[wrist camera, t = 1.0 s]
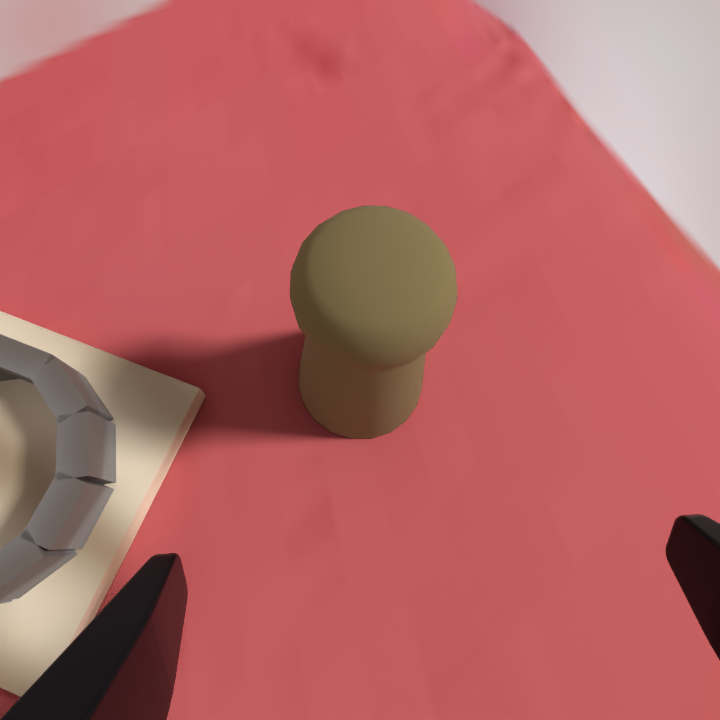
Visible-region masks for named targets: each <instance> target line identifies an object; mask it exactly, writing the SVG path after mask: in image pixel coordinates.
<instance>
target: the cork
mask: <svg viewBox="0 0 720 720" xmlns="http://www.w3.org/2000/svg"><path fill="white" fill-rule="evenodd" d="M290 299H291V303H292V307H293V310H294V313H295V316H296V319H297V322H298V326H299V328H300V329H301V330H302V332H303V333H304V334H305V340H304V345H303V351H302V356H301V361H300V367H299V390H300V393H301V396H302V400H303V403H304V405H305V407H306V408H307V410H308V411H309V412H310V414H311V415H312V417H313V418H314V419H315V421H317V422H318V423H319V424H321V425H322V426H323V427H325V428H326V429H328V430H329V431H330V432H332V433H335V434H338V435H341V436H344V437H347V438H350V439H372V438H375V437H378V436H381V435H384V434H387V433H390V432H392V431H393V430H394V429H396V428H397V427H398V426H400V425H401V424H402V423H404V422H405V421H406V420H407V419H408V417H409V416H410V414H411V413H412V412H413V410H414V409H415V407H416V406H417V403H418V400H419V396H420V393H421V389H422V383H423V373H424V363H425V353H426V352H427V351H429V350H430V349H432V348H433V347H434V345H435V344H436V342H437V341H438V340H439V338H440V337H441V336H442V334H443V333H444V331H445V330H446V329H447V327H448V325H449V323H450V321H451V318H452V315H453V311H454V308H455V304H456V301H457V284H456V271H455V265H454V263H453V260H452V258H451V256H450V254H449V251H448V249H447V247H446V245H445V244H444V243H443V242H442V240H441V239H440V238H439V237H438V236H437V235H436V234H435V233H434V231H433V230H432V229H431V228H430V227H429V226H428V225H427V224H426V223H424V222H422V221H421V220H419V219H418V218H416V217H414V216H413V215H411V214H410V213H408V212H405V211H401V210H398V209H395V208H391V207H388V206H360V207H356V208H352V209H348V210H345V211H342V212H340V213H338V214H336V215H335V216H333V217H331V218H330V219H328V220H326V221H325V222H323V223H321V224H319V225H318V226H317V227H316V228H315V229H314V230H313V231H312V233H311V234H310V235H309V236H308V237H307V238H306V239H305V240H304V242H303V243H302V245H301V247H300V250H299V252H298V255H297V257H296V259H295V262H294V264H293V267H292V270H291V280H290Z"/></svg>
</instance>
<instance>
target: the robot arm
mask: <svg viewBox="0 0 720 720" xmlns="http://www.w3.org/2000/svg"><path fill="white" fill-rule="evenodd" d="M666 557H667V560H668V562H669V565H670V567H671V569H672V571H673V573H674V574H675V576H676V578H677V580H678V582H679V584H680V586H681V588H682V590H683V592H684V594H685V596H686V598H687V600H688V602H689V604H690V606H691V608H692V610H693V612H694V614H695V616H696V618H697V620H698V622H699V624H700V626H701V628H702V630H703V632H704V634H705V636H706V637H707V639H708V641H709V643H710V645H711V646H712V648H713V650H714V652H715V653H716V655H717V657H718V658H719V660H720V524H719V523H717V522H716V521H714V520H712V519H710V518H708V517H706V516H704V515H700V514H694V515H681V516H679V517H677V518H676V520H675V522H674V524H673V527H672V530H671V533H670V536H669V539H668V542H667V545H666ZM187 595H188V590H187V583H186V579H185V575H184V571H183V567H182V563H181V559H180V557H179V555H178V554H176V553H169V554H157V555H154V556H152V557H151V558H150V559H149V560H148V561H147V562H146V563H145V564H144V565H143V566H142V568H141V569H140V570H139V571H138V572H137V573H136V574H135V575H134V576H133V577H132V578H131V579H130V580H129V581H128V583H127V584H126V585H125V586H124V587H123V588H122V589H121V590H120V591H119V592H118V593H117V594H116V595H115V597H114V598H113V599H112V600H111V601H110V602H109V603H108V604H107V605H106V606H105V607H104V608H103V609H102V610H101V612H100V613H99V614H98V615H97V616H96V617H95V618H94V619H93V620H92V621H91V622H90V623H89V624H88V625H87V627H86V628H85V629H84V630H83V631H82V632H81V633H80V634H79V635H78V636H77V637H76V638H75V639H74V641H73V642H72V643H71V644H70V645H69V646H68V647H67V648H66V649H65V650H64V651H63V652H62V653H61V654H60V656H59V657H58V658H57V659H56V660H55V661H54V662H53V663H52V664H51V665H50V666H49V667H48V668H47V670H46V671H45V672H44V673H43V674H42V675H41V676H40V677H39V678H38V679H37V680H36V681H35V682H34V683H33V685H32V686H31V687H30V688H29V689H28V690H27V691H26V692H25V693H24V694H23V695H22V696H21V697H20V698H19V700H18V701H17V702H16V703H15V704H14V705H13V706H12V707H11V708H10V709H9V710H8V711H7V712H6V714H5V715H4V716H3V717H2V718H1V719H0V720H166V719H167V715H168V712H169V708H170V703H171V699H172V695H173V689H174V683H175V678H176V671H177V664H178V658H179V651H180V644H181V638H182V631H183V624H184V618H185V611H186V604H187Z"/></svg>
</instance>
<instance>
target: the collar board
mask: <svg viewBox="0 0 720 720" xmlns="http://www.w3.org/2000/svg"><path fill="white" fill-rule="evenodd" d="M205 397H206V394H205V393H204V392H203V391H202V390H201V389H200V388H198V387H196V386H193V385H190V384H188V383H185V382H183V381H180V380H177V379H175V378H172V377H170V376H167V375H164V374H162V373H159V372H157V371H154V370H152V369H149V368H146V367H144V366H141V365H139V364H136V363H133V362H131V361H128V360H126V359H123V358H120V357H118V356H115V355H113V354H110V353H107V352H105V351H102V350H100V349H97V348H95V347H92V346H89V345H87V344H84V343H82V342H79V341H76V340H74V339H71V338H69V337H66V336H63V335H61V334H58V333H56V332H53V331H50V330H48V329H45V328H43V327H40V326H37V325H35V324H32V323H30V322H27V321H25V320H22V319H19V318H17V317H14V316H12V315H9V314H6V313H4V312H1V311H0V688H2V689H4V690H7V691H9V692H11V693H13V694H15V695H18V696H20V697H21V696H22V695H23V694H24V693H25V692H26V691H27V690H28V689H29V688H30V687H31V686H32V685H33V683H34V682H35V681H36V680H37V679H38V678H39V677H40V676H41V675H42V674H43V673H44V672H45V671H46V670H47V668H48V667H49V666H50V665H51V664H52V663H53V662H54V661H55V660H56V659H57V658H58V657H59V656H60V654H61V653H62V652H63V651H64V650H65V649H66V648H67V647H68V646H69V645H70V644H71V643H72V642H73V641H74V639H75V638H76V637H77V636H78V635H79V634H80V633H81V632H82V631H83V630H84V629H85V628H86V627H87V625H88V624H89V623H90V622H91V621H92V620H93V619H94V617H95V615H96V613H97V611H98V609H99V607H100V605H101V603H102V601H103V599H104V597H105V596H106V594H107V592H108V590H109V588H110V586H111V584H112V582H113V580H114V578H115V576H116V574H117V572H118V570H119V568H120V566H121V564H122V562H123V560H124V558H125V556H126V554H127V552H128V550H129V548H130V546H131V544H132V542H133V540H134V538H135V536H136V534H137V532H138V530H139V528H140V526H141V524H142V522H143V520H144V518H145V516H146V514H147V512H148V510H149V508H150V506H151V504H152V502H153V500H154V498H155V496H156V494H157V492H158V490H159V488H160V486H161V484H162V482H163V480H164V478H165V476H166V474H167V472H168V470H169V468H170V466H171V464H172V462H173V460H174V458H175V456H176V454H177V452H178V450H179V448H180V446H181V444H182V442H183V440H184V438H185V436H186V434H187V432H188V430H189V428H190V426H191V424H192V422H193V420H194V418H195V416H196V414H197V412H198V410H199V408H200V406H201V405H202V403H203V401H204V399H205Z"/></svg>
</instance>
